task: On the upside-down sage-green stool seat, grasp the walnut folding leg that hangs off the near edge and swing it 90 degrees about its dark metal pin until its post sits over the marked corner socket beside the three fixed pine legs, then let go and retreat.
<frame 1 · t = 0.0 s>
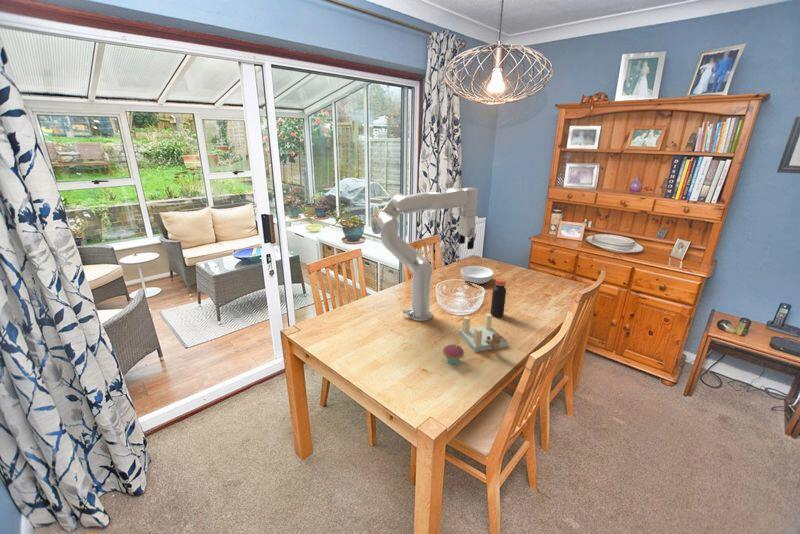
hand: (465, 246, 180), 37 cm above the table, tool pointing down, fingers open, 9 cm apart
bottle: (496, 315, 188), on the table
stool seat: (481, 340, 164), on the table
cupcake: (452, 361, 149), on the table
serving bowl: (476, 281, 233), on the table
folding leg: (492, 338, 154), point 6 cm above the table, hinge at -90.0°
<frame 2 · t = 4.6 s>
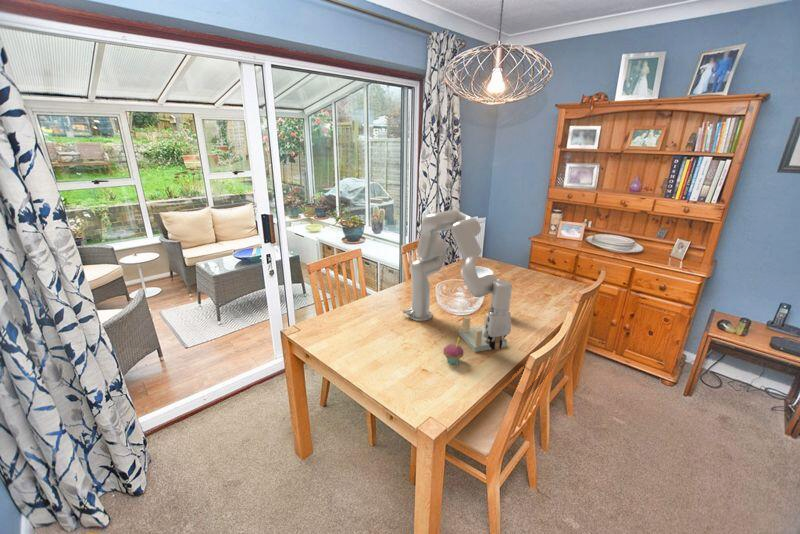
hand: (495, 347, 152), 3 cm above the table, tool pointing down, fingers closed on folding leg, 2 cm apart
folding leg: (492, 338, 154), point 6 cm above the table, hinge at -90.0°, touching gripper
everything else where it was.
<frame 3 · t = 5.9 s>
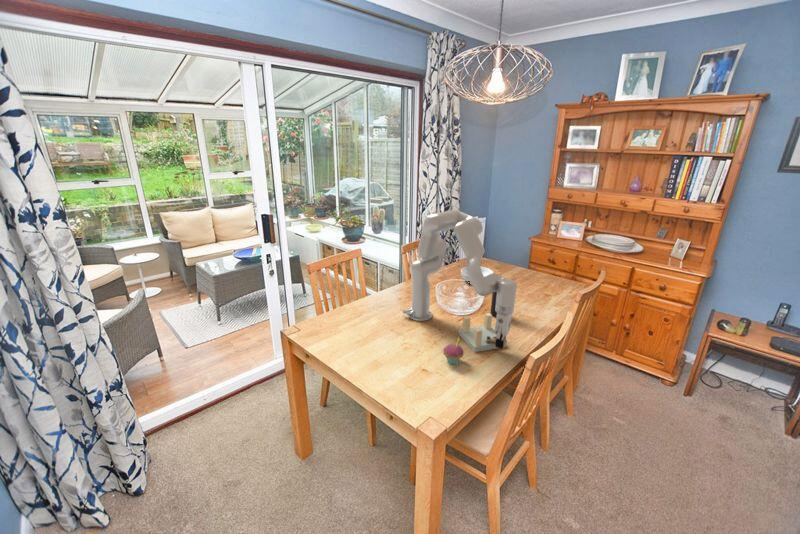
hand: (500, 344, 154), 3 cm above the table, tool pointing down, fingers closed on folding leg, 3 cm apart
folding leg: (495, 337, 155), point 6 cm above the table, hinge at -58.1°, touching gripper
everything else where it was.
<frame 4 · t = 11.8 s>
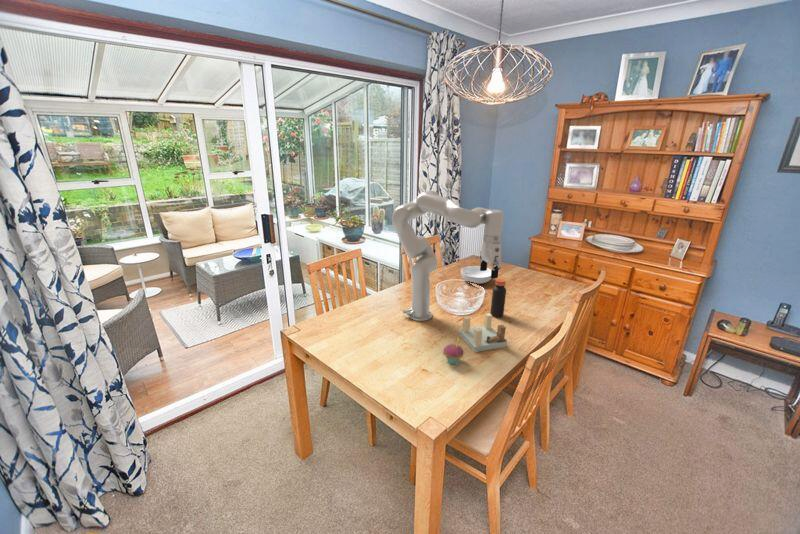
hand: (488, 274, 161), 30 cm above the table, tool pointing down, fingers open, 9 cm apart
folding leg: (495, 334, 158), point 6 cm above the table, hinge at -2.1°
everything else where it was.
at the end: folding leg at -2° (first picture: -90°); the gripper is holding nothing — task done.
